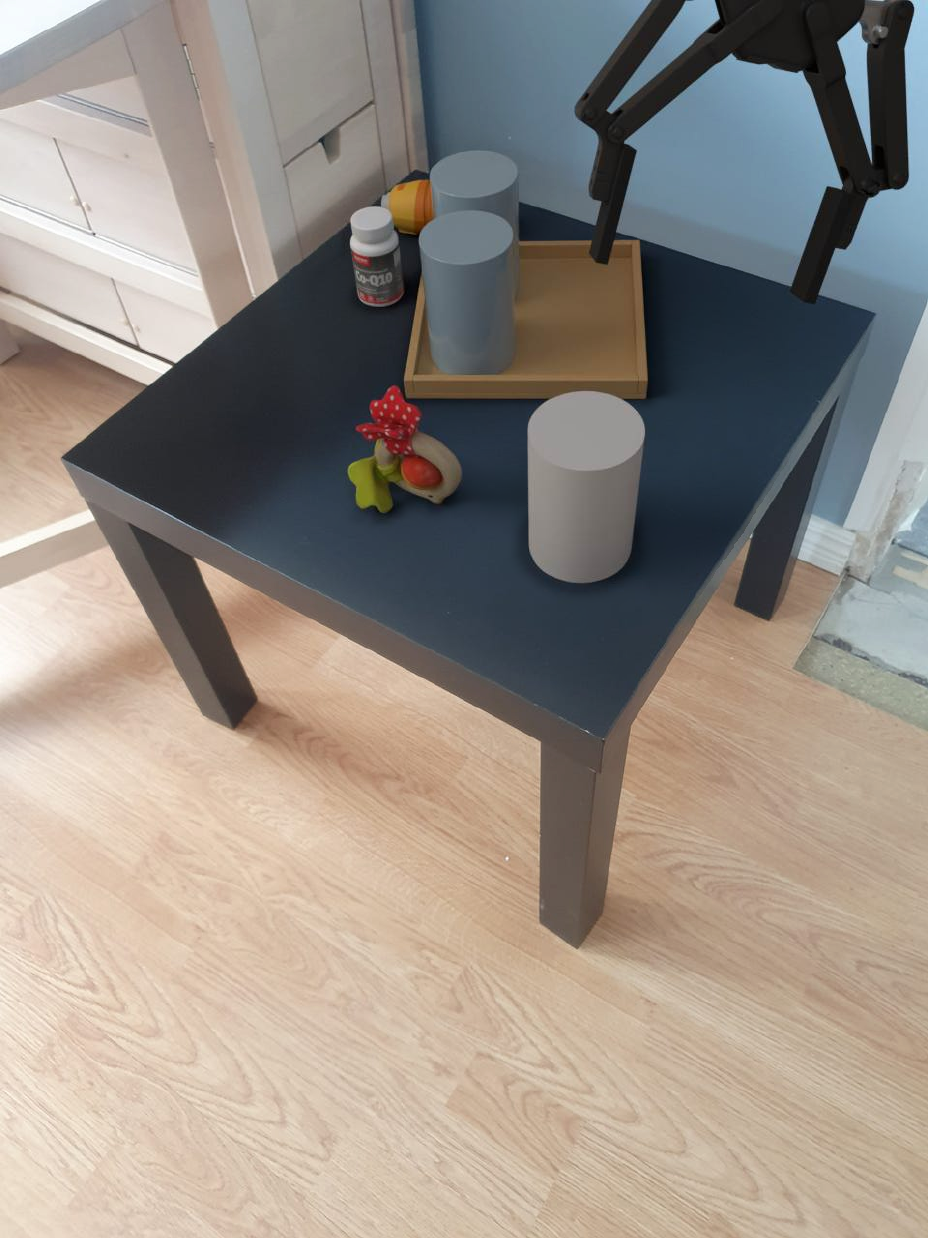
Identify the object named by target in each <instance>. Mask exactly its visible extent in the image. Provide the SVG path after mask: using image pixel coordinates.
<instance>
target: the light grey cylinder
mask: <svg viewBox="0 0 928 1238" xmlns="http://www.w3.org/2000/svg"><path fill="white" fill-rule="evenodd" d="M645 435H646V428H645V423H644V420H643V417H642V416H641V414H639V412H638V411H637V410H636V408H635V407H633V406H632V404H630V403H629V402H628V401H626V400H625V399H620V398H618V397H615V396H613V395H610V394H606V393H601V392H595V391H577V392H570V393H565V394H562V395H559V396H556V397H554V398H552V399H548V400H546V401H545V402H544V403H542V404H541V405H540V406H538V407H537V408H536V409H535V411H534V412H533V413H532V414H531V416H530V418H529V420H528V424H527V488H528V489H527V503H528V504H527V507H528V508H527V509H528V510H527V511H528V512H527V513H528V549H529V550H528V551H529V554H530V556H531V558H532V560H533V562H534V563H535V564H536V566H537V567H538V568H539V569H540V570H541V571H543V572H544V573H545V574H547V575H548V576H550V577H552V578H554V579H557V580H559V581H563V582H567V583H573V584H589V583H595V582H599V581H600V582H601V581H602V580H605V579H609V578H610V577H612V576H613V575H615V574H616V573H618V572H619V571H620V570H621V569H623V567H624V566H625V565H626V563H628V561H629V559H630V557H631V553H632V548H633V540H634V533H635V532H634V531H635V522H636V514H637V504H638V497H639V488H640V479H641V471H642V470H641V469H642V460H643V454H644V444H645Z"/></svg>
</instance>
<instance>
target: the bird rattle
mask: <svg viewBox="0 0 928 1238" xmlns="http://www.w3.org/2000/svg"><path fill="white" fill-rule="evenodd" d="M369 410H370V414H371V416H372V417H371V418H373V420H374V422H375V423H373V422H365V423H362V424H359V425H357V426H356V427H355V430H356V431H357V432H358V433H360V434H361V433H362V436H363V437H364V439H365V440H367V441H369V442H374V441H376V443H375V445H374V453H373V455H372V456H371V457H365V458H362V459H359V460H356V461H353V462H351V464H349V466H348V468H347V475H348V478H349V480H350V482H351V483H352V484H354V485H355V487H356V488H355V502H356V505H357V506H358V507H359V508H360V509H362V510H365V509H367V508H369V507H371V506H375V507H376V508H377V510H378V511H379V512H380V513H381V514H387V513H388V512H389V511H390V510H391V509H392V508H393V506H394V503H393V499H392V495H391V491H390V485H389V484H390V483H394V484H395V485H397V486H398V487H400V488H401V489H403V490H405V491H407V492H408V493H410V494H412V495H415V496H418V497H420V498H423V499H427V500H429V501H431V502H432V503H434V504H436V505H440V504H442V503H443V502H444V500H445V499H446V498H448V497H450V496H452V494H453V493H454V492H455V491H456V490H457V489H458V487H459V485H460V483H461V482H462V481H461V480H462V477H463V469H462V466H461V464H460V461H459V460H458V458H457V456H456V455H455V453H454V452H452V451H451V449H449V448H448V447H447V446H446V445H445V444H443V442H441V441H439V440H437V439H436V438H434V437H433V436H430V435H428V434H426V433H424V432H422V431H421V430H420V429H418V426H419V424H420V422H421V420H422V418H423V413H422V412H421V410H420V409H419V408H418V407H417V406H416V405H414V404H412V403H409V402H406V401H405V399H404V396H403V393H402V390H401V389H400V387H399V386H398V385H395V384H394V385H392V386H390V387H389V388H388V389H387V391H386V392H385V394H384V395H383V397H382V399H373V400H372V401H371V402H370V404H369Z"/></svg>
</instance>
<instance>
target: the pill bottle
mask: <svg viewBox="0 0 928 1238" xmlns="http://www.w3.org/2000/svg"><path fill="white" fill-rule="evenodd" d="M349 221H350V228H351V236H350V239H349V247H350V254H351V260H352V266H353V273H354V279H355V286H356V293H357V296H358V298H359V301H360V302H362V303H363V304H364V305H366V306H370V307H375V308H384V307H389V306H391V305H394V304H395V303H397V302H399V301H400V300H401V299H402V298H403V296H404V294H405V283H404V275H403V274H404V273H403V267H402V257H401V249H400V240H399V235H398V232H397V231H396V230H394V229H395V225H394V224H393V218H392V214H391V212H390V211H389V210H387V209H386V208H383V207H381V206H376V205H373V206H366V207H362V208H360V209H357V210H356V211H355V212H354V213H353V214H352V215H351V217H350V220H349Z"/></svg>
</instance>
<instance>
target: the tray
mask: <svg viewBox="0 0 928 1238" xmlns="http://www.w3.org/2000/svg"><path fill="white" fill-rule="evenodd" d="M591 242H592V239H589V240H587V239H586V240H526V241H525V240H519V243H520V291H519V293H518V295H517V297H516V298H515V323H516V355H515V358H514V360H513V362H512V363H511V364H510V366H509V367H507V368H506V369H505V370H504V371H502V372H501V373H499V374H497V375H446V374H444V373H442V372H441V371H439V370H438V369H437V368H436V367H435V365H434V364H433V362H432V359H431V353H430V343H429V334H428V324H427V315H426V305H425V296H424V286H423V277H422V272H421V274H420V280H419V284H418V285H419V286H418V291H417V299H416V304H415V310H414V315H413V322H412V328H411V335H410V341H409V347H408V352H407V357H406V358H407V359H406V364H405V371H404V376H403V386H404V393H405V398H406V399H484V400H485V399H488V400H489V399H491V400H493V399H495V400H497V399H499V400H503V399H506V400H507V399H509V400H511V399H512V400H514V399H521V400H522V399H525V400H526V399H527V400H528V399H529V400H533V399H536V400H537V399H541V400H542V399H543V400H545V399H546V400H547V399H548V400H550V399H552V398H554V397H556V396H559V395H562V394H565V393H570V392H577V391H595V392H601V393H606V394H610V395H613V396H615V397H618V398H620V399H622V400H646V399H647V392H648V385H649V384H648V383H649V377H648V359H647V343H646V325H645V324H646V323H645V311H644V310H645V309H644V292H643V290H644V289H643V275H642V256H641V255H642V254H641V240H640V239H614V242H613V246H612V250H611V254H610V258H609V262H608V265H605V264H600V263H596V262H595V261H594V260H593V258H592V257H591V255H590V254H589V250H590V246H591Z"/></svg>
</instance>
